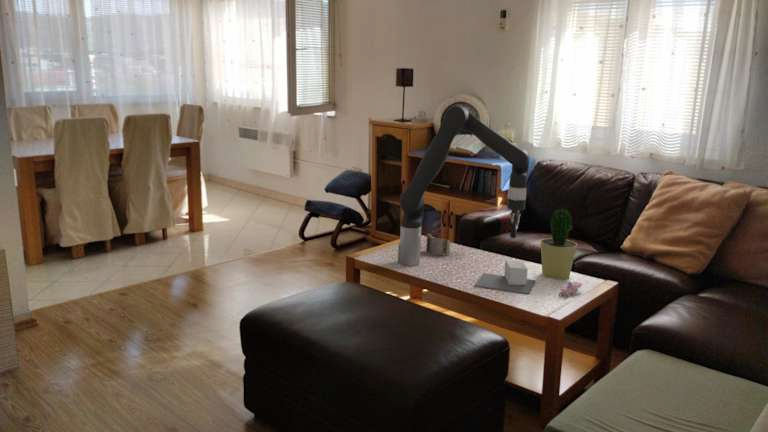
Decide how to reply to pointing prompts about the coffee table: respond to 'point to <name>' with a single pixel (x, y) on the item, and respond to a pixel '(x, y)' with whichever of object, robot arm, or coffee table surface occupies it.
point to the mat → (503, 284)
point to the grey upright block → (438, 245)
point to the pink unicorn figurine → (570, 289)
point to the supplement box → (515, 272)
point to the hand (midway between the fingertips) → (513, 237)
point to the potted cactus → (558, 248)
